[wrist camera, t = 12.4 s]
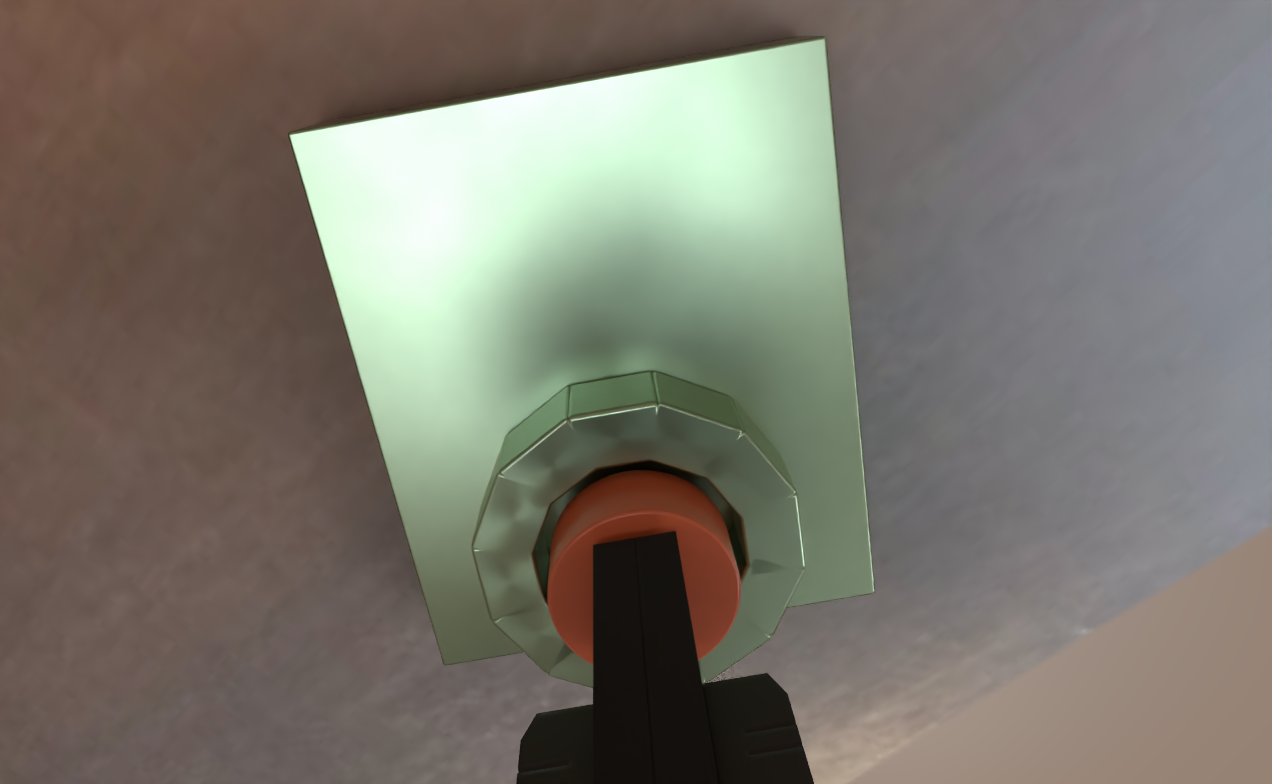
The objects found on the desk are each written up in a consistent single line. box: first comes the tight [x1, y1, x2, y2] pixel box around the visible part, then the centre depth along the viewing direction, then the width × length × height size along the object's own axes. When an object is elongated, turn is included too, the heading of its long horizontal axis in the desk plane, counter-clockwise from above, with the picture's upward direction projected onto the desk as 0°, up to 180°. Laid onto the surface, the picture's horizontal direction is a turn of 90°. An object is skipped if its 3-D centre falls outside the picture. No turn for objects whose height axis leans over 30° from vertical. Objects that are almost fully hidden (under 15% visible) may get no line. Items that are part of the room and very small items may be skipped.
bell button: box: [547, 470, 741, 665], centre depth 18 cm, size 4×4×2 cm
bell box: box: [288, 36, 875, 688], centre depth 19 cm, size 12×10×4 cm
